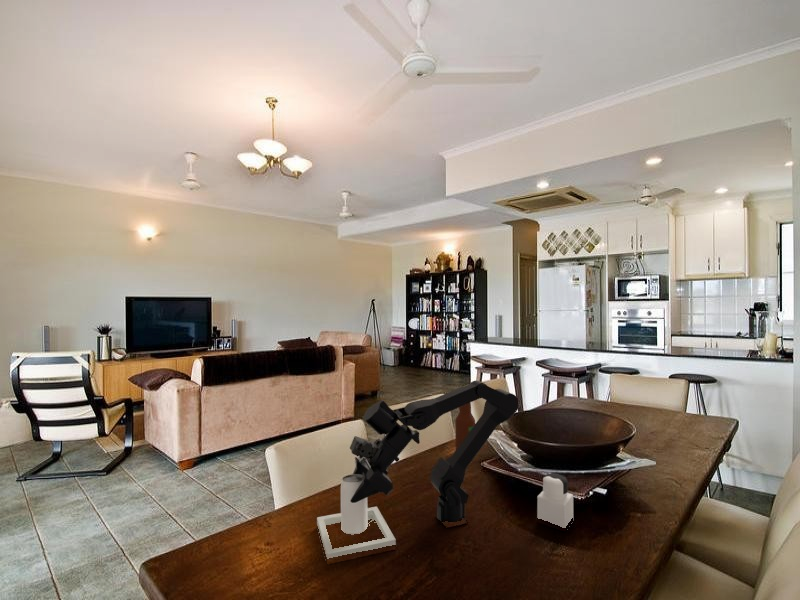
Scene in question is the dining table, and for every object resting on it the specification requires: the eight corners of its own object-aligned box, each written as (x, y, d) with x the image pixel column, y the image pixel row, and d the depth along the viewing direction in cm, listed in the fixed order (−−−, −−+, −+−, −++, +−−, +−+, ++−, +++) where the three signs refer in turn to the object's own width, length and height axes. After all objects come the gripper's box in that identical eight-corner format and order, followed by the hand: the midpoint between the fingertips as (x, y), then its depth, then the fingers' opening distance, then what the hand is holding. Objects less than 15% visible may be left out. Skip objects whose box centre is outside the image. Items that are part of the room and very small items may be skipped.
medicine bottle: (546, 512, 112) (546, 468, 112) (573, 521, 108) (573, 475, 108) (536, 523, 107) (536, 477, 107) (564, 533, 102) (564, 485, 102)
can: (341, 536, 96) (341, 483, 97) (340, 524, 102) (339, 474, 104) (369, 533, 97) (368, 480, 99) (366, 521, 104) (365, 472, 105)
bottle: (476, 458, 150) (476, 389, 150) (456, 457, 150) (456, 389, 150) (473, 450, 157) (473, 385, 157) (454, 450, 157) (454, 385, 157)
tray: (376, 515, 111) (376, 506, 111) (395, 550, 96) (395, 539, 96) (317, 527, 106) (316, 517, 106) (327, 565, 91) (326, 554, 91)
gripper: (361, 415, 111) (320, 461, 108) (378, 438, 93) (330, 494, 90) (390, 440, 113) (351, 486, 110) (412, 467, 95) (366, 523, 92)
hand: (349, 496), depth 100 cm, fingers closed on can, 6 cm apart
